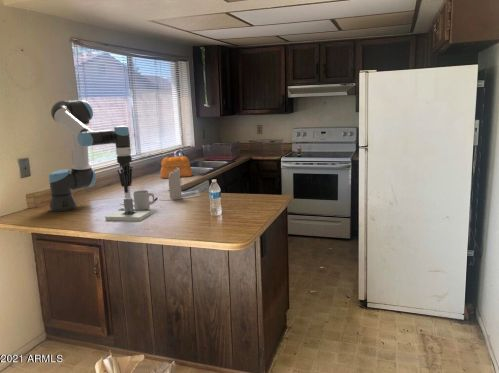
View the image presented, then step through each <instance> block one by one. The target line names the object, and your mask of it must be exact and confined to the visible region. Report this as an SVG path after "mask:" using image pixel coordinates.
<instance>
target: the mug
mask: <svg viewBox="0 0 499 373" xmlns="http://www.w3.org/2000/svg"><path fill="white" fill-rule="evenodd" d="M150 196H151V197H152V201H150ZM155 198H156V197H155V195H154V193H152V192H149V190H146V189H145V190H135V191H133V206H134V209H151V207H150V205H154V203H155Z"/></svg>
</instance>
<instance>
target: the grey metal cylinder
mask: <svg viewBox="0 0 499 373" xmlns="http://www.w3.org/2000/svg"><path fill="white" fill-rule="evenodd" d="M123 205H124V209H125V215H133V214H134V212H133V209H134V200H133V198H132V197H131V198H123Z"/></svg>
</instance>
